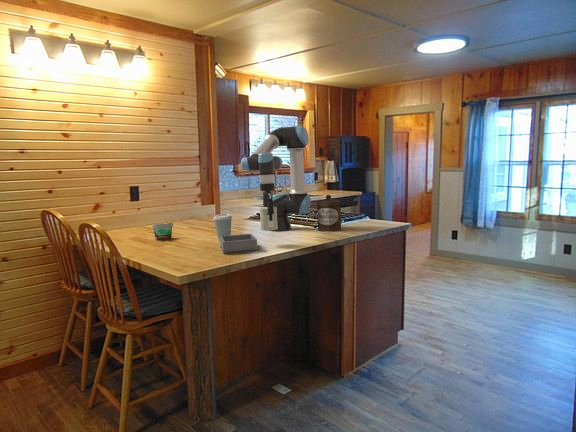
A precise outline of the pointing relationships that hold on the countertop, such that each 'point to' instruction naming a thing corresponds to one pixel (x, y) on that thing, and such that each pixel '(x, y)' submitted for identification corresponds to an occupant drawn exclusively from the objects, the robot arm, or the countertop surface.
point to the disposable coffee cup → (223, 224)
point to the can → (265, 219)
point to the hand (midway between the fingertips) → (269, 225)
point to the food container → (163, 231)
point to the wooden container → (329, 214)
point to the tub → (238, 243)
